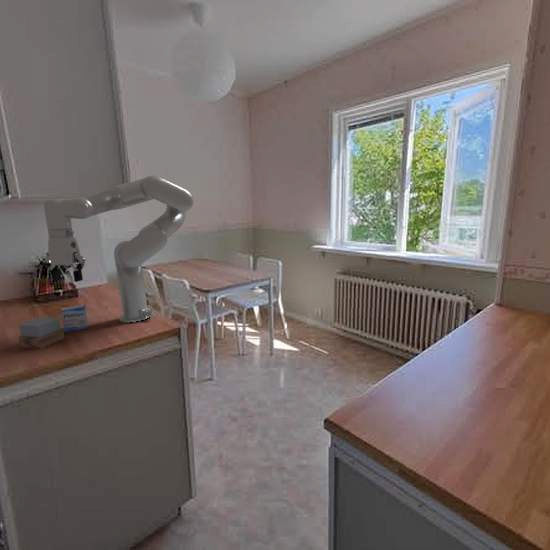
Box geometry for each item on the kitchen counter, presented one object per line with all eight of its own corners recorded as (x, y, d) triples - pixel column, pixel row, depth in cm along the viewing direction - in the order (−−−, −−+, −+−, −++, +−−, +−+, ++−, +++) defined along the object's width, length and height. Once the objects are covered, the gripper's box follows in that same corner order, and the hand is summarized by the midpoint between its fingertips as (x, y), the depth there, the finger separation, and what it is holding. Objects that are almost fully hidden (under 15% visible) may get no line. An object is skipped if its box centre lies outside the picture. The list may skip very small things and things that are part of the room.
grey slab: (60, 329, 120) (58, 318, 119) (40, 337, 112) (37, 326, 112) (42, 327, 122) (40, 317, 121) (21, 336, 114) (19, 324, 114)
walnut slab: (64, 339, 121) (62, 328, 120) (41, 349, 113) (39, 338, 112) (44, 337, 123) (42, 327, 123) (20, 347, 115) (18, 336, 114)
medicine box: (64, 333, 126) (60, 310, 125) (65, 329, 130) (61, 307, 129) (88, 328, 130) (84, 306, 128) (88, 325, 134) (85, 304, 132)
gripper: (88, 233, 124) (95, 279, 127) (50, 233, 129) (57, 278, 132) (71, 234, 117) (79, 283, 120) (32, 235, 121) (40, 282, 125)
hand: (67, 280), depth 126 cm, fingers open, 9 cm apart
